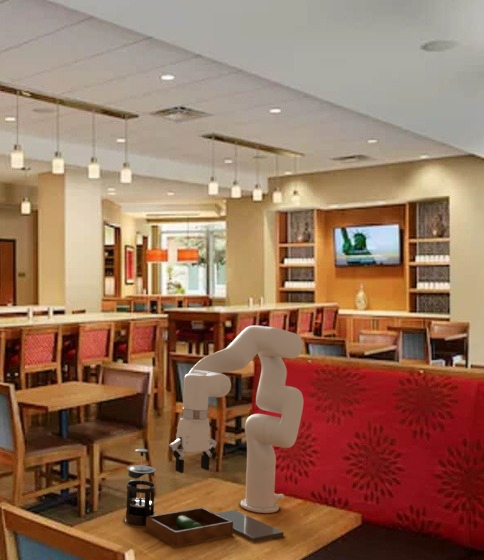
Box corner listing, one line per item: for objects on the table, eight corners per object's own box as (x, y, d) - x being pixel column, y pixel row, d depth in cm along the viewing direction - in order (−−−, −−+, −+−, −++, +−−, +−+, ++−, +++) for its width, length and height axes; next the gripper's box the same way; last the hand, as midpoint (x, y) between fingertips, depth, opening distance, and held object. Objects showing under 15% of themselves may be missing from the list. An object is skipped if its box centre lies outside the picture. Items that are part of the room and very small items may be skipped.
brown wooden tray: (201, 521, 232) (202, 507, 232) (232, 536, 219) (233, 521, 219) (145, 531, 221) (146, 516, 221) (174, 548, 208) (175, 532, 208)
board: (234, 514, 239) (234, 509, 239) (283, 537, 220) (283, 532, 220) (205, 519, 233) (205, 514, 233) (253, 543, 214) (253, 538, 214)
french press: (161, 526, 226) (163, 452, 225) (134, 529, 222) (137, 454, 222) (143, 514, 237) (145, 443, 236) (117, 517, 233) (119, 445, 232)
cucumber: (183, 525, 226) (184, 512, 226) (205, 537, 216) (205, 523, 216) (173, 527, 224) (173, 514, 224) (194, 539, 215) (195, 525, 214)
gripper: (209, 410, 229) (206, 465, 229) (164, 413, 221) (161, 469, 221) (225, 415, 222) (222, 471, 222) (179, 418, 214) (176, 476, 214)
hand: (192, 470), depth 222 cm, fingers open, 9 cm apart
